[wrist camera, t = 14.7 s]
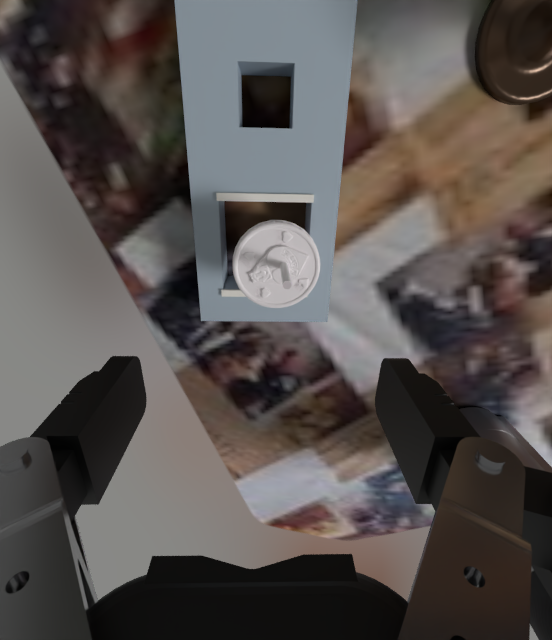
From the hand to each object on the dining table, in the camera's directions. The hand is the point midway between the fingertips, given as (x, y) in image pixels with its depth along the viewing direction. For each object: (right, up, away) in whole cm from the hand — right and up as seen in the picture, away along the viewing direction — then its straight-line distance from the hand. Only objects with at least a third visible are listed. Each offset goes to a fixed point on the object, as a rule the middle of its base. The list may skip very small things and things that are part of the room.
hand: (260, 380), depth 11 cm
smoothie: (0, +10, +21) cm, 24 cm away
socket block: (0, +14, +19) cm, 24 cm away
